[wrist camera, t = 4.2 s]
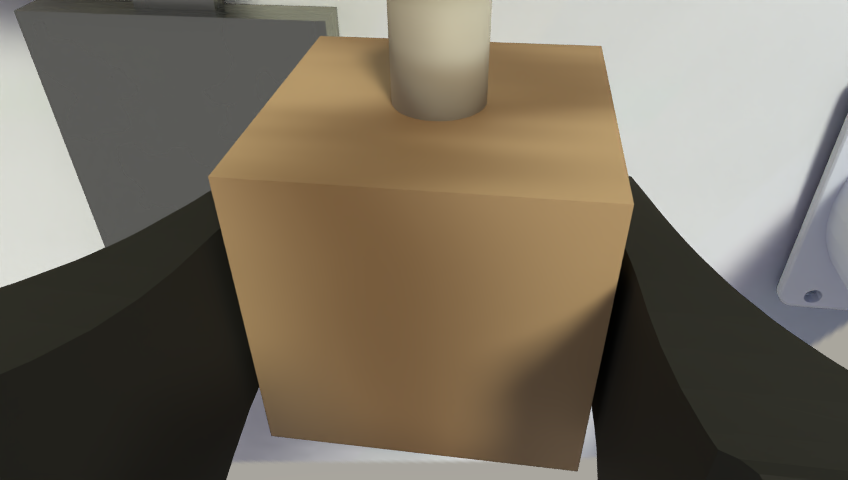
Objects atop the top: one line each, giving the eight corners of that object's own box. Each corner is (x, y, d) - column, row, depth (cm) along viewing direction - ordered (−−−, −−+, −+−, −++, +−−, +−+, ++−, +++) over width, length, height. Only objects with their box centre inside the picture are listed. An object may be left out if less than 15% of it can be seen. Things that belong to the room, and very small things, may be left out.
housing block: (615, -47, 10) (660, 76, 6) (567, 271, 14) (576, 471, 10) (310, -53, 11) (178, 55, 7) (344, 253, 15) (271, 435, 11)
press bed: (277, -624, 12) (202, -729, 9) (364, 302, 25) (343, 365, 22) (-169, -582, 13) (-347, -666, 10) (141, 282, 26) (98, 340, 23)
